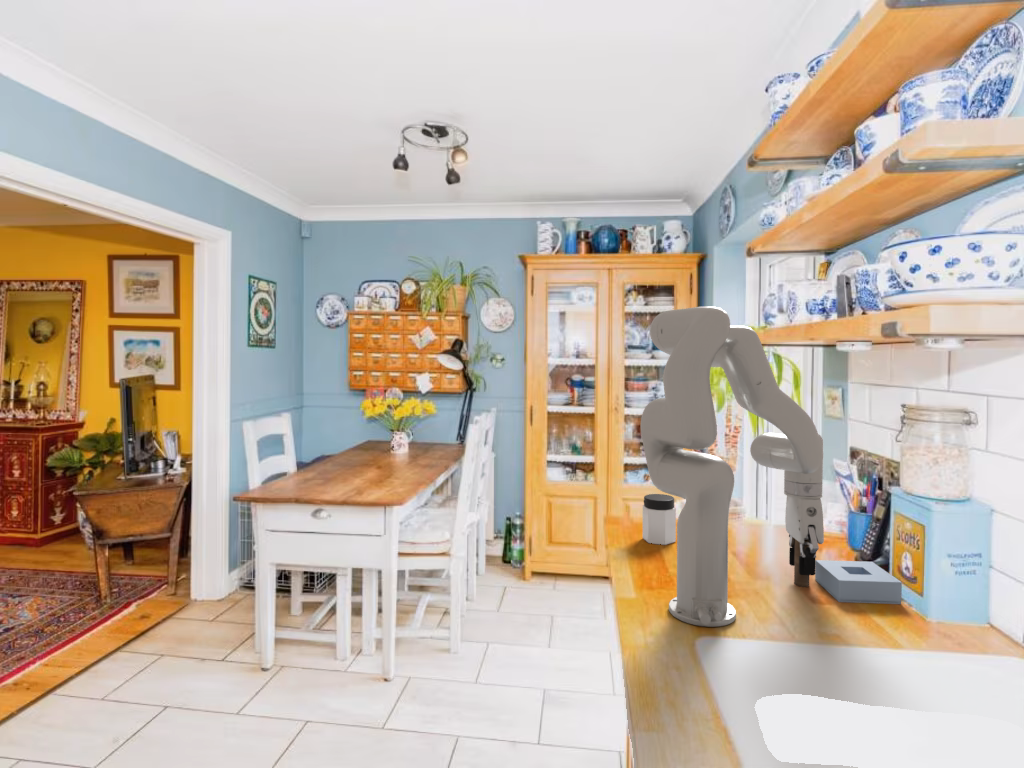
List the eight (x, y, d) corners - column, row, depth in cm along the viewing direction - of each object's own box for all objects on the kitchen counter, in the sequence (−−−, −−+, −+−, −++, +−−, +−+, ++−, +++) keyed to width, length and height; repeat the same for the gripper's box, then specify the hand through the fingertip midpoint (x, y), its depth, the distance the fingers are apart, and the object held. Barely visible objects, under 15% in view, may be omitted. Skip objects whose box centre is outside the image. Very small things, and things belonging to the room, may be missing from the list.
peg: (811, 587, 127) (812, 542, 127) (797, 586, 128) (797, 541, 127) (806, 581, 130) (806, 537, 130) (792, 581, 131) (792, 537, 130)
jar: (657, 533, 167) (657, 492, 166) (681, 540, 160) (681, 497, 160) (636, 539, 161) (636, 496, 161) (660, 547, 155) (660, 502, 154)
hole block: (901, 604, 118) (901, 582, 118) (838, 601, 120) (839, 580, 119) (871, 581, 130) (872, 561, 130) (815, 579, 131) (815, 560, 131)
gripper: (838, 498, 119) (836, 585, 120) (805, 480, 136) (804, 557, 137) (799, 497, 120) (798, 584, 121) (772, 480, 137) (771, 556, 138)
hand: (801, 569), depth 129 cm, fingers open, 4 cm apart
